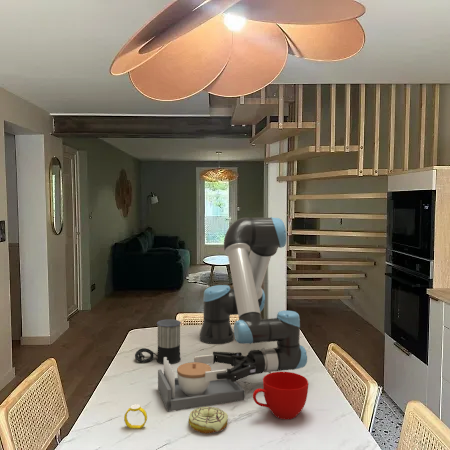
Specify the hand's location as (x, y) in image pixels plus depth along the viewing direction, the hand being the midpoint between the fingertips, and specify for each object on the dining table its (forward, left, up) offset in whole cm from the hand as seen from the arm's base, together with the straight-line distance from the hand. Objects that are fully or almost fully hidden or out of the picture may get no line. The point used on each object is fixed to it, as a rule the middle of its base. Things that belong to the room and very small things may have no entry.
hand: (199, 368), depth 139 cm
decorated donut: (+19, -3, -9) cm, 21 cm away
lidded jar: (0, -2, -8) cm, 8 cm away
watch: (+14, -22, -9) cm, 27 cm away
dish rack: (0, 0, -9) cm, 9 cm away
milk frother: (-34, -7, -9) cm, 36 cm away
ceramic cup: (+20, +18, -9) cm, 28 cm away
